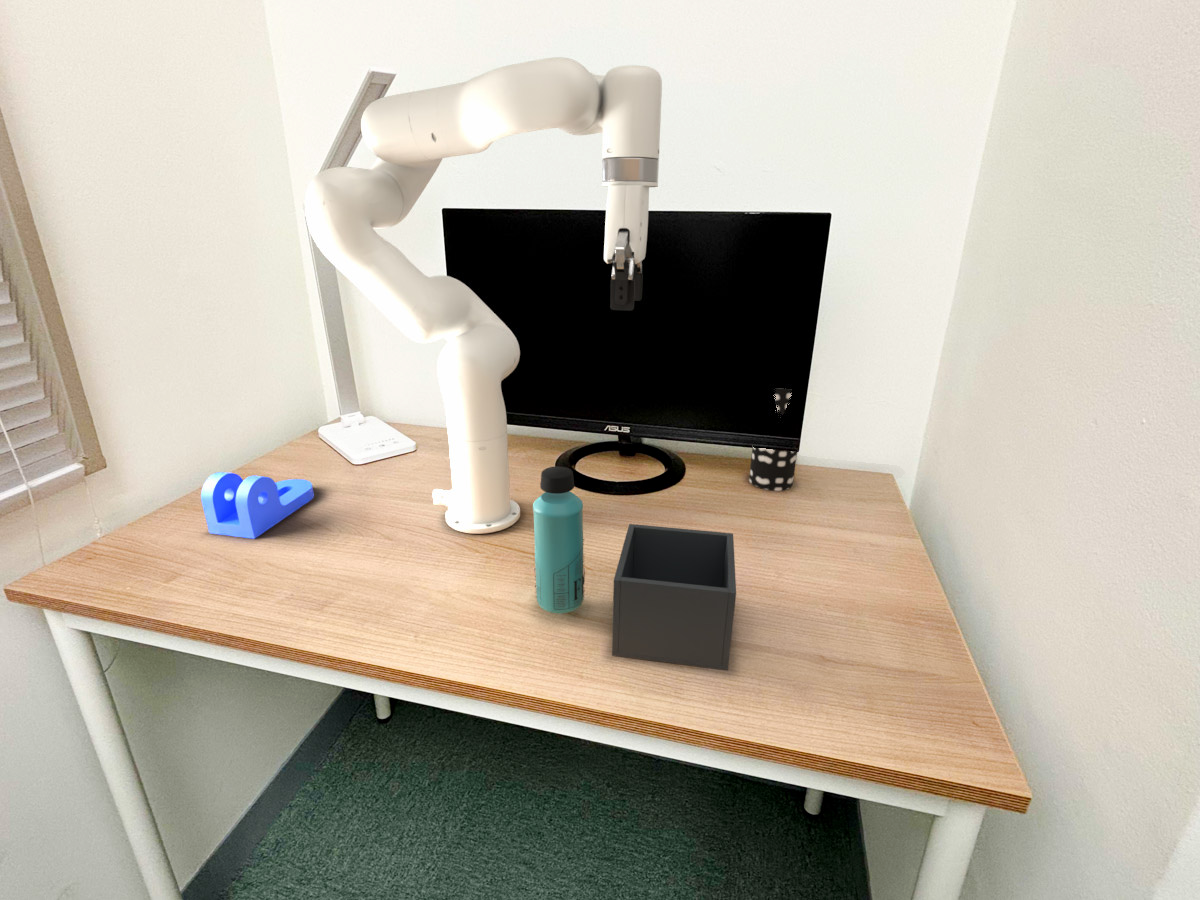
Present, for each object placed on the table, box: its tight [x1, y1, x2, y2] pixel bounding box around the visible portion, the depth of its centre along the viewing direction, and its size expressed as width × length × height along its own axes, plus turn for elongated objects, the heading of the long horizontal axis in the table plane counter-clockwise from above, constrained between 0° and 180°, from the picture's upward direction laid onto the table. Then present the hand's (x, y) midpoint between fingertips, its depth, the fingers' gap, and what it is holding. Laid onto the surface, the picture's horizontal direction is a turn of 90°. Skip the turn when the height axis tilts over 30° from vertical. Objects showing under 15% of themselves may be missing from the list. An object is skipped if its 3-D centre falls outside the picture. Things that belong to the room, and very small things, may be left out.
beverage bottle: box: [532, 465, 586, 614], centre depth 78 cm, size 6×7×20 cm
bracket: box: [200, 471, 315, 540], centre depth 106 cm, size 18×8×9 cm, turn 168°
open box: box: [611, 523, 737, 671], centre depth 77 cm, size 14×14×11 cm
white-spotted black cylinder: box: [748, 388, 798, 492], centre depth 117 cm, size 8×8×20 cm
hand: (626, 304), depth 89 cm, fingers open, 9 cm apart
